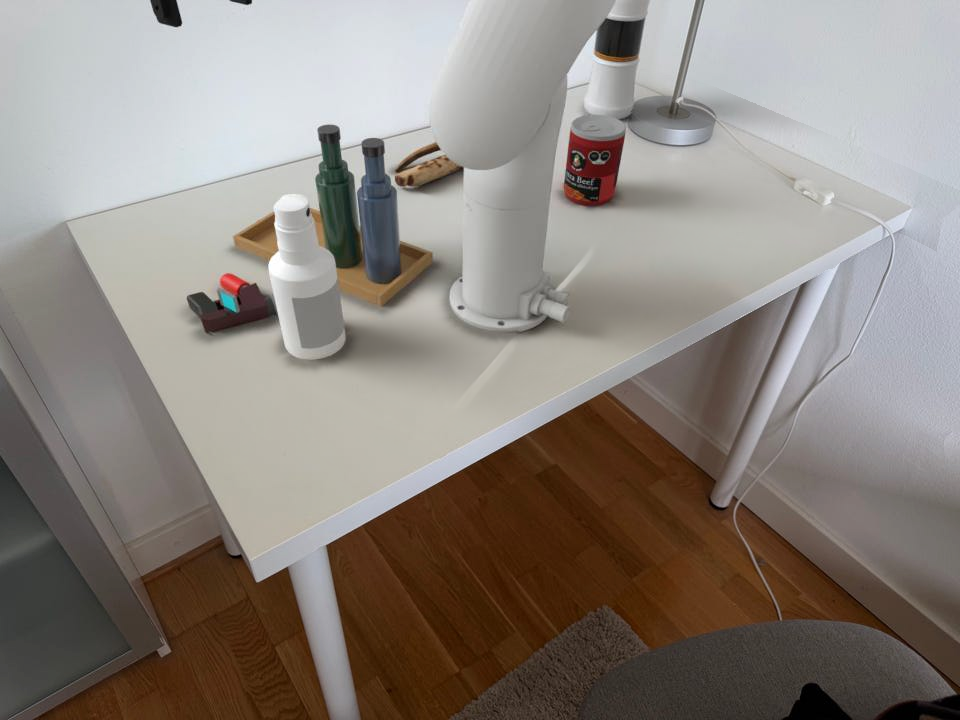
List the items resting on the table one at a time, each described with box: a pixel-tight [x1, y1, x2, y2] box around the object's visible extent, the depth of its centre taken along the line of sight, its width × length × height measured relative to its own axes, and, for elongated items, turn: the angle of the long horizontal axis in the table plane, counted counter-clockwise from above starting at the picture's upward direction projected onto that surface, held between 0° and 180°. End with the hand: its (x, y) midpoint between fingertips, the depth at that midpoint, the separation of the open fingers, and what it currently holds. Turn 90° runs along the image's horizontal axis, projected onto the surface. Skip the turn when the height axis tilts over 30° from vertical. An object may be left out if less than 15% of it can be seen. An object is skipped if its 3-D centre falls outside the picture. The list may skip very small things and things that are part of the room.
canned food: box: [563, 114, 627, 207], centre depth 102 cm, size 8×8×11 cm
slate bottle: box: [356, 137, 402, 284], centre depth 82 cm, size 5×5×18 cm
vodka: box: [583, 0, 651, 121], centre depth 119 cm, size 9×9×30 cm
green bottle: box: [314, 124, 363, 268], centre depth 84 cm, size 5×5×18 cm
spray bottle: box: [267, 193, 347, 361], centre depth 72 cm, size 7×7×18 cm
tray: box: [232, 207, 434, 307], centre depth 90 cm, size 24×11×2 cm, turn 59°
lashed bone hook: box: [394, 141, 463, 188], centre depth 108 cm, size 9×5×18 cm
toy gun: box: [186, 272, 278, 336], centre depth 81 cm, size 10×12×5 cm
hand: (206, 13), depth 74 cm, fingers open, 9 cm apart
